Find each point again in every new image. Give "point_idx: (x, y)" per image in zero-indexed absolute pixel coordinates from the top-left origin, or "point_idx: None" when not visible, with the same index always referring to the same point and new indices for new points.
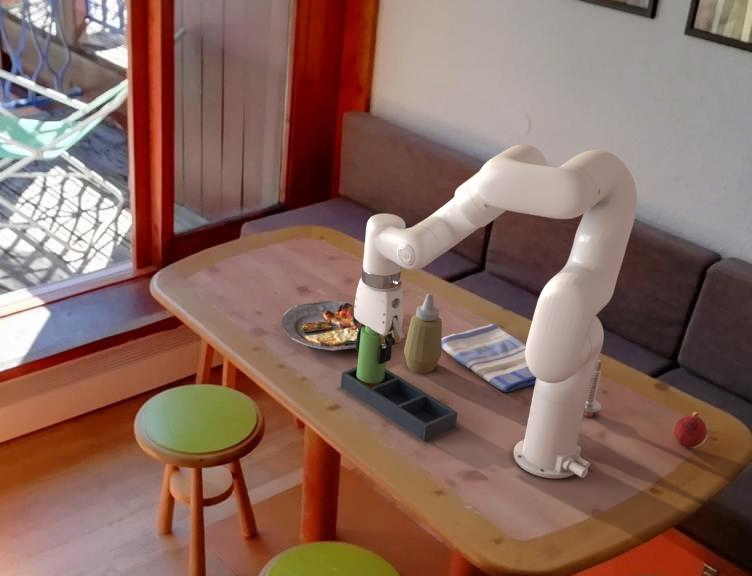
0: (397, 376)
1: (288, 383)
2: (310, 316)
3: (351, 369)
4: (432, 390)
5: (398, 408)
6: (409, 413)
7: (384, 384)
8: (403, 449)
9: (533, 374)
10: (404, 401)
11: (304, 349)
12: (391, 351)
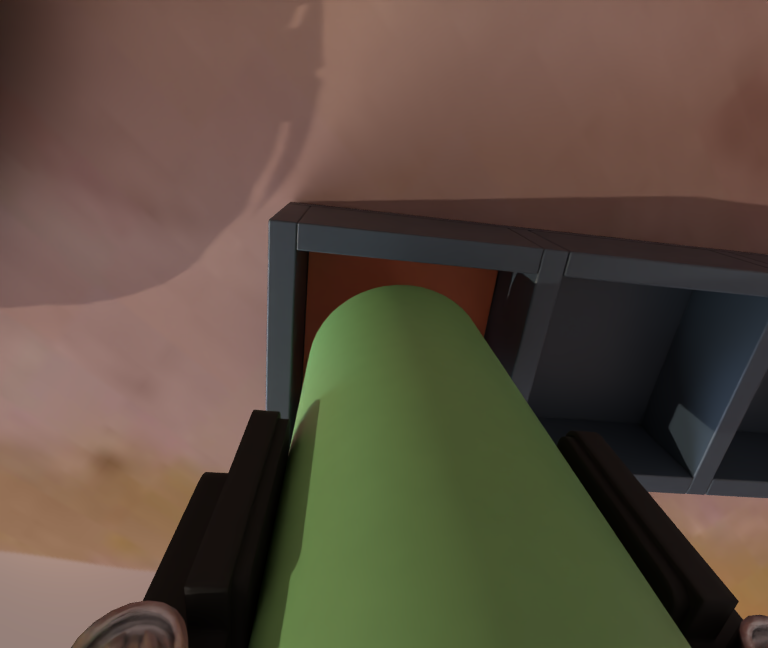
0: (538, 256)
1: (111, 528)
2: None
3: (272, 410)
4: (656, 25)
5: (711, 494)
6: None
7: (528, 387)
8: (740, 514)
9: None
10: (596, 281)
11: None
12: (650, 495)
